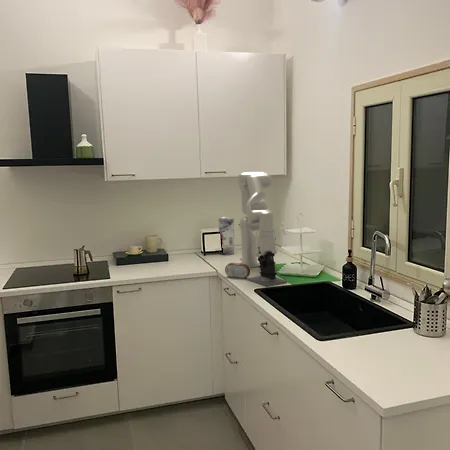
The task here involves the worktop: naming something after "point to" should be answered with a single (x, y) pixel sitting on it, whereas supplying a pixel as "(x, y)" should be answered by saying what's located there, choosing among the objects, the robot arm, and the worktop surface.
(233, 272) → the tin
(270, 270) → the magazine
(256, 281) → the mat
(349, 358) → the worktop surface
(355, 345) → the worktop surface
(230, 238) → the juice carton
